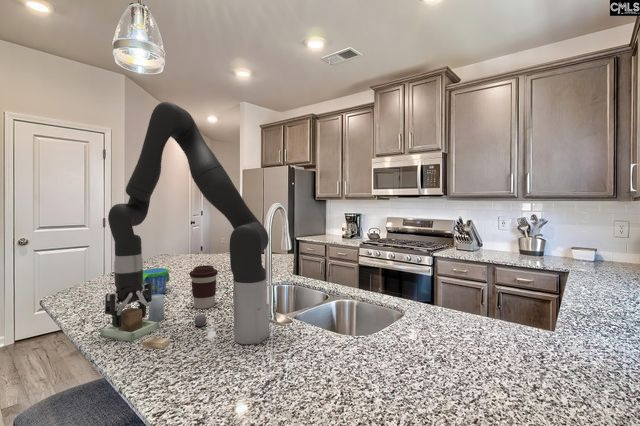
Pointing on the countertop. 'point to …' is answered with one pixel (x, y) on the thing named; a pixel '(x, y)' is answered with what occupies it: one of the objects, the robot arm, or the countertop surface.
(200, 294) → the coffee cup
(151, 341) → the beech domino
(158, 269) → the snack cup
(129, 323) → the walnut block
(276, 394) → the countertop surface
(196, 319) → the rubber ball
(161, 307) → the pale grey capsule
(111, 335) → the sage tray
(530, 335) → the countertop surface
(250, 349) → the countertop surface
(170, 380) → the countertop surface
